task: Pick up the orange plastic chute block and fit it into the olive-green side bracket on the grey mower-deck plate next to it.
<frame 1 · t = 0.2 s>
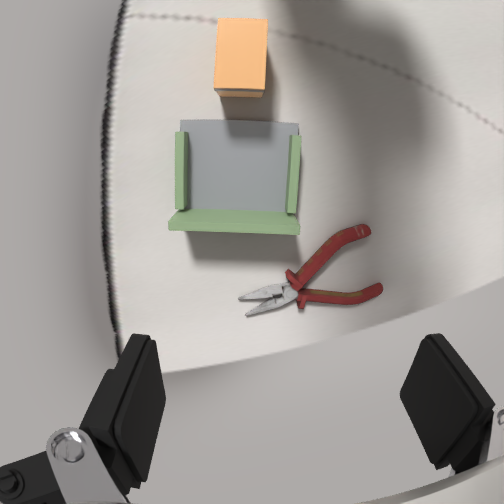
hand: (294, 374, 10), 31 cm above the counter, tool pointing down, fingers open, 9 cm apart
pliers: (313, 267, 43), on the counter
chute block: (242, 66, 32), on the counter
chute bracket: (237, 168, 37), on the counter
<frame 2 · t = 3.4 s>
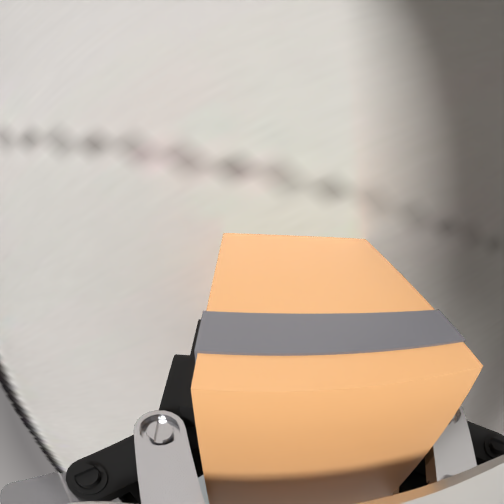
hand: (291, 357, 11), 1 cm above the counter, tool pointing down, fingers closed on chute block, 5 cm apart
chute block: (286, 332, 12), on the counter, touching gripper
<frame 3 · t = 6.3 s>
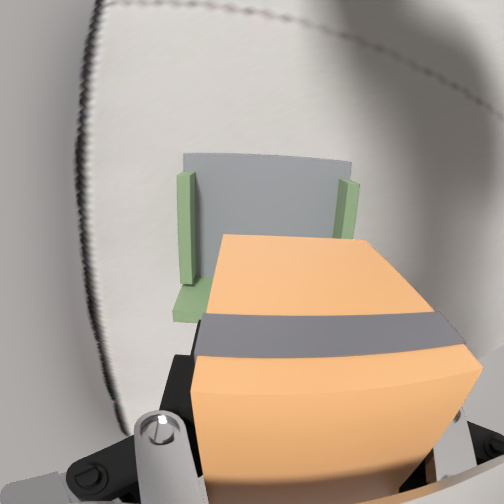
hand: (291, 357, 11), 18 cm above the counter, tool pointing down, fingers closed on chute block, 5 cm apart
chute block: (286, 333, 12), point 16 cm above the counter, touching gripper
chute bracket: (265, 223, 27), on the counter
when the fingers open (4 cm above the counter, at t = 9.3 s): chute block drops 2 cm, resting on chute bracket.
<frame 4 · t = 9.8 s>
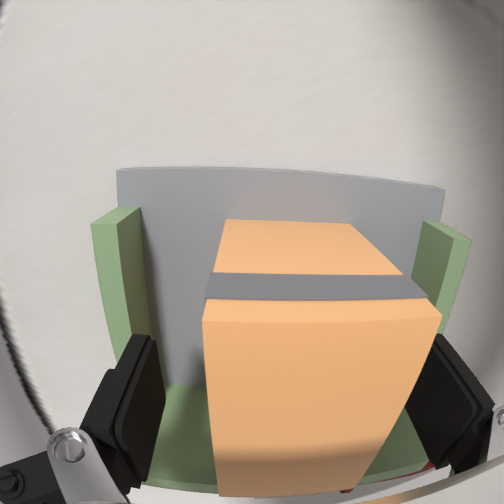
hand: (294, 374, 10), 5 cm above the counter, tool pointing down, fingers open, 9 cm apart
chute block: (282, 309, 14), point 1 cm above the counter, touching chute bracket
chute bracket: (280, 301, 14), on the counter
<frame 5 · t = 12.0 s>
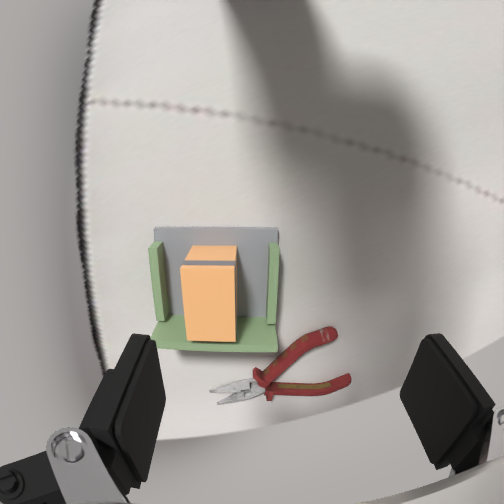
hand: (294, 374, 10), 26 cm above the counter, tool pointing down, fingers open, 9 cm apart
pliers: (281, 364, 42), on the counter
chute block: (215, 278, 36), point 1 cm above the counter, touching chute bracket
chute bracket: (216, 276, 37), on the counter
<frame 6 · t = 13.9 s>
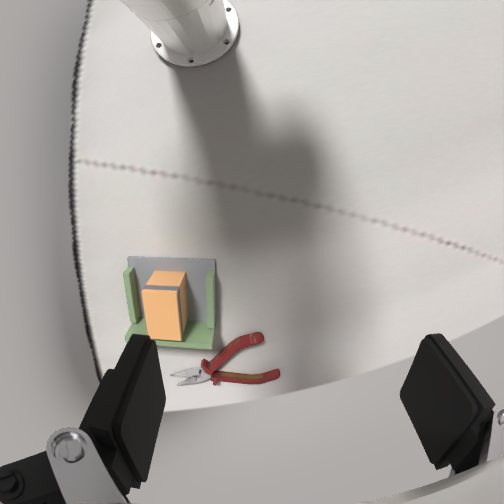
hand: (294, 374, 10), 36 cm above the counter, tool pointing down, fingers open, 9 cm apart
pliers: (223, 357, 55), on the counter
chute block: (171, 293, 49), point 1 cm above the counter, touching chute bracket
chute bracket: (172, 291, 49), on the counter
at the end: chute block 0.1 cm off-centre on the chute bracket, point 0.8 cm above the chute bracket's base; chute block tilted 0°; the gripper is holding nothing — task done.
